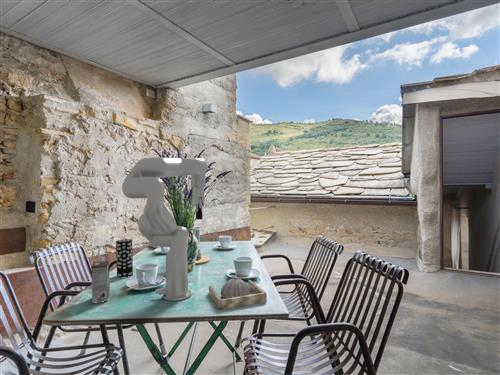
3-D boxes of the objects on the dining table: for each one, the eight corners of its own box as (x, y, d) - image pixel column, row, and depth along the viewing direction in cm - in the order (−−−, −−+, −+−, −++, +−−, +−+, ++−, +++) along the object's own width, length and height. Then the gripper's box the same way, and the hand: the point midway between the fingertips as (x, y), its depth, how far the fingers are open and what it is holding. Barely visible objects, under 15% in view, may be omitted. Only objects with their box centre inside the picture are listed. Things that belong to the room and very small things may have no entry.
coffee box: (94, 297, 132) (93, 261, 132) (110, 294, 135) (109, 260, 135) (91, 304, 124) (90, 266, 124) (108, 301, 126) (107, 264, 126)
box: (219, 309, 115) (219, 300, 115) (209, 293, 133) (208, 285, 133) (266, 301, 122) (266, 293, 122) (250, 287, 140) (250, 279, 140)
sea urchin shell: (214, 299, 126) (213, 281, 126) (231, 289, 137) (231, 273, 137) (240, 305, 119) (239, 286, 119) (256, 294, 131) (255, 276, 131)
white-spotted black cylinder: (132, 276, 162) (132, 241, 162) (116, 278, 158) (115, 242, 158) (133, 272, 169) (132, 238, 169) (117, 274, 166) (116, 239, 166)
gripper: (189, 184, 158) (189, 218, 158) (193, 184, 144) (194, 221, 144) (202, 184, 161) (203, 217, 161) (208, 184, 147) (209, 220, 147)
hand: (199, 219), depth 153 cm, fingers closed
